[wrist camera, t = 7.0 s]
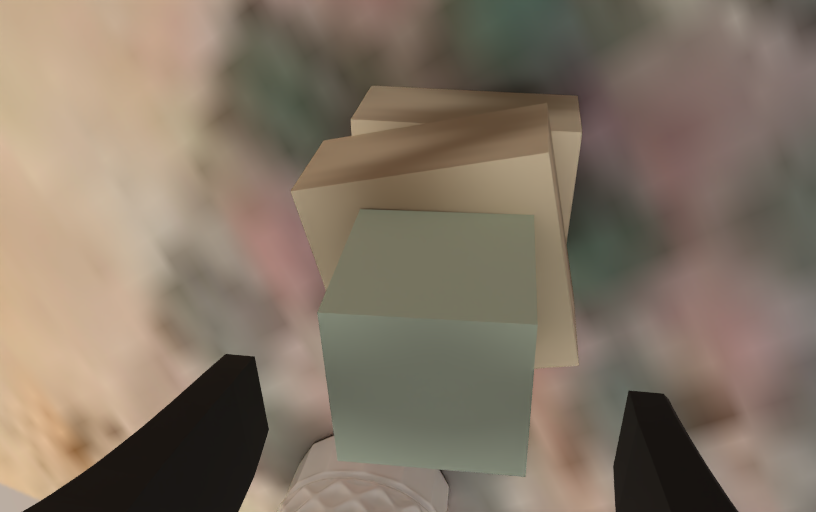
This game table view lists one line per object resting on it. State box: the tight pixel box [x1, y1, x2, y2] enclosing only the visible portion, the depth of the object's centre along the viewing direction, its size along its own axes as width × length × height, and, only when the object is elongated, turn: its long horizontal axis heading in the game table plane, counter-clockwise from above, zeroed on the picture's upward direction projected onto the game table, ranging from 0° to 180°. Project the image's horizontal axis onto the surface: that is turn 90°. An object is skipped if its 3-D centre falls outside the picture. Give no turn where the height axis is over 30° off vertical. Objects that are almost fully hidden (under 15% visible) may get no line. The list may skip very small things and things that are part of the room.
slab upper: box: [291, 103, 579, 369], centre depth 18 cm, size 6×6×3 cm
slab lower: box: [351, 86, 582, 243], centre depth 21 cm, size 6×6×3 cm
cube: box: [317, 209, 538, 477], centre depth 15 cm, size 4×4×4 cm
